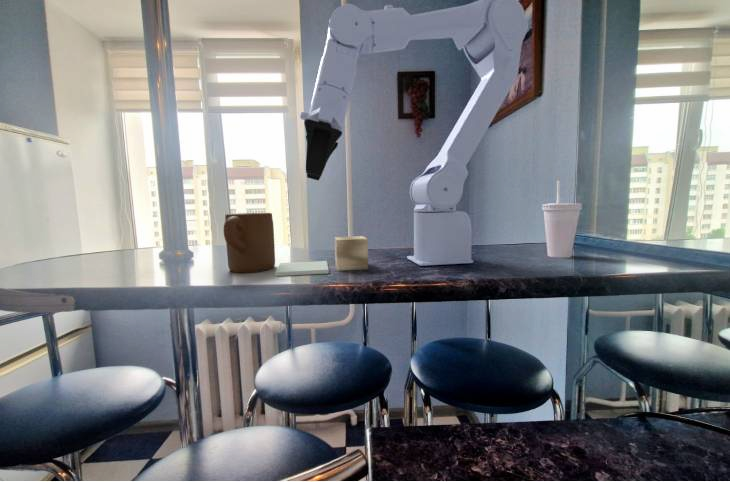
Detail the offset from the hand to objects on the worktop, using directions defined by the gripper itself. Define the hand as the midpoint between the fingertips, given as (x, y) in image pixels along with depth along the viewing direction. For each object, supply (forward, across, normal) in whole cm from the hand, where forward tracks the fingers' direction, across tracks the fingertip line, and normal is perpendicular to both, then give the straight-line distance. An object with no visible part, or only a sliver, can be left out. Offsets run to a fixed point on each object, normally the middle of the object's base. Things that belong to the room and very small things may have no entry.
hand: (312, 176), depth 52 cm
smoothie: (+3, 0, +47) cm, 47 cm away
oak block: (+13, 0, +10) cm, 16 cm away
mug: (+18, -1, -7) cm, 19 cm away
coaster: (+15, 0, +2) cm, 15 cm away
